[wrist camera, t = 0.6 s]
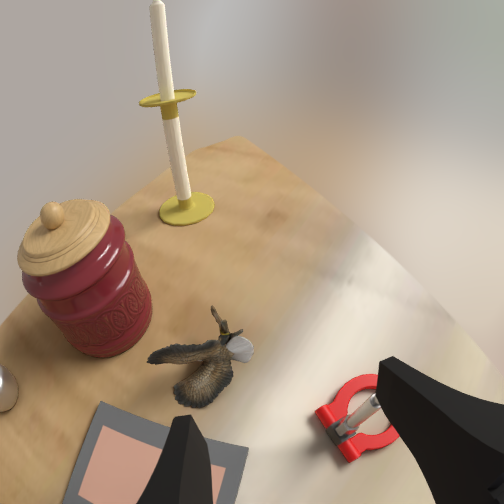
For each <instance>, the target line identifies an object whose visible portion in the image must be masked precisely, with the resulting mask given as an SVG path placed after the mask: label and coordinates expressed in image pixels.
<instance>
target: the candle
mask: <svg viewBox="0 0 504 504" xmlns="http://www.w3.org/2000/svg"><path fill="white" fill-rule="evenodd" d="M150 18H151V28H152V38H153V46H154V55H155V62H156V71H157V78H158V86H159V92H160V93H158V94H155V95H152V96H149V97H146V98H144V99H142V100H141V101H140V102H139V105H140V106H142V107H157V106H160V107H161V114H162V119H163V126H164V132H165V137H166V143H167V148H168V154H169V159H170V164H171V170H172V175H173V180H174V185H175V189H176V194H177V195H176V196H174V197H172V198H170V199H168V200H167V201H166V202H165V203H163V205H162V206H161V208H160V210H159V213H160V218H161V219H162V220H163V221H164V222H165V223H167V224H170V225H173V226H186V225H190V224H195V223H197V222H199V221H201V220H203V219H205V218H207V217H208V216H209V215H210V214H211V213H212V212H213V209H214V206H215V204H214V202H213V199H212V198H211V197H210V196H208V195H207V194H204V193H200V192H191V191H190V185H189V179H188V173H187V167H186V161H185V155H184V149H183V142H182V137H181V129H180V123H179V116H178V109H177V103H178V102H181V101H185V100H187V99H190V98H192V97H194V96H195V95H196V91H195V90H191V89H181V90H174V88H173V80H172V72H171V64H170V55H169V46H168V36H167V26H166V14H165V4H164V3H162V1H161V0H153V3H152V4H151V5H150Z"/></svg>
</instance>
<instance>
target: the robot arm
mask: <svg viewBox="0 0 504 504" xmlns="http://www.w3.org/2000/svg"><path fill="white" fill-rule="evenodd" d="M375 396H376V398H377V400H378V402H379V404H380V406H381V408H382V410H383V412H384V414H385V415H386V417H387V418H388V420H389V421H390V423H391V424H392V426H393V427H394V428H395V430H396V431H397V433H398V434H399V435H400V437H401V438H402V440H403V441H404V443H405V444H406V445H407V447H408V448H409V450H410V451H411V453H412V454H413V456H414V457H415V459H416V461H417V463H418V465H419V467H420V469H421V471H422V473H423V475H424V477H425V479H426V481H427V483H428V486H429V488H430V490H431V492H432V495H433V498H434V500H435V503H436V504H504V405H503V404H498V403H494V402H490V401H486V400H482V399H479V398H476V397H473V396H470V395H467V394H465V393H462V392H460V391H457V390H455V389H453V388H450V387H448V386H446V385H444V384H442V383H440V382H438V381H436V380H434V379H432V378H430V377H428V376H427V375H425V374H423V373H421V372H419V371H418V370H416V369H414V368H412V367H411V366H409V365H407V364H406V363H404V362H402V361H400V360H399V359H397V358H395V357H393V356H392V357H389V358H387V359H385V360H382V361H380V362H379V371H378V379H377V387H376V394H375ZM136 504H213V492H212V474H211V463H210V457H209V451H208V445H207V442H206V441H205V439H204V437H203V435H202V434H201V432H200V430H199V428H198V427H197V425H196V423H195V421H194V419H193V418H192V416H191V415H185V416H178V417H175V418H174V419H173V422H172V425H171V428H170V431H169V434H168V436H167V439H166V442H165V445H164V447H163V450H162V452H161V455H160V457H159V460H158V462H157V464H156V467H155V469H154V471H153V473H152V475H151V477H150V479H149V481H148V483H147V486H146V487H145V489H144V491H143V493H142V495H141V496H140V498H139V500H138V501H137V503H136Z"/></svg>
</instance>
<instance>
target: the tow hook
mask: <svg viewBox="0 0 504 504" xmlns="http://www.w3.org/2000/svg"><path fill="white" fill-rule="evenodd" d="M377 379H378V375H376V374H366V375H360V376H358V377H355V378H353V379H351V380H350V381H348V382H347V383H345V384H344V386H343V387H342V388H341V389H340V390H339V391H338V393H337V395H336V397H335V399H334V401H333V402H332V403H330V404H329V405H327V404H326V405H323V406H321V407H320V408H318V409H317V410H316V411H315V413H316V415H317V416H318V418H319V419H320V421H321V422H322V424H323V425H324V427H325V428H326V432H327V433H328V435H329V436H330V438H331V439H332V441H333V442H334V444H335V445H336V446H338V448H339V449H340V451H341V452H342V454H343V455H344V456H345V458H346V459H347V461H348V462H349V463H350V462H353V461H354V460H356V459H358V458H359V457H360V456H361V453H362V452H364V451H365V450H375V449H380V448H382V447H385V446H387V445H389V444H391V443H392V442H394V441H395V440H396V439H397V438H398V437H399V436H400V435H399V434H398V433H397V431H396V430H395V428H394V427H393V426H392V424H391V425H390V427H389V428H388V429H387V430H386V431H385V432H383V433H381V434H378V435H366V434H363V433H358V434H357V435H355V434H356V432H355V431H356V430H357V429H358V428H359V426H360V424H361V423H363V422H364V421H365V420H367V419H368V418H369V417H371V416H372V415H373V414H374V413H376V412H377V411H378V410H379V409H380V408H381V406H380V404H379V402H378V400H377V398H376V396H375V394H376V393H374V394H372V395H371V396H370V397H369V398H368V399H367V400H366V401H365V402H364V403H363V404H362V405H361V406H360V407H359V408H358V409H357V410H356V411H354V412H353V413H352V414H351V415H347V413H348V412H347V409H348V404H349V401H350V399H351V397H352V396H353V395H354V394H356V393H357V392H358V391H361V390H364V389H376V387H377ZM354 435H355V436H354ZM352 436H354V437H352ZM350 437H352V438H351V439H350Z"/></svg>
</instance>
